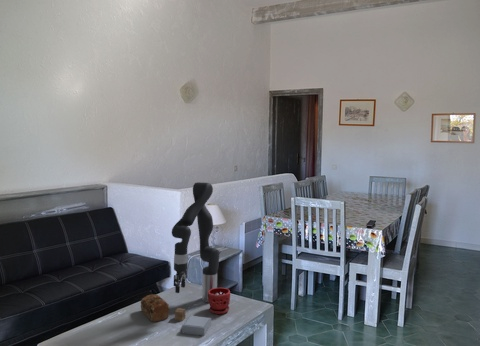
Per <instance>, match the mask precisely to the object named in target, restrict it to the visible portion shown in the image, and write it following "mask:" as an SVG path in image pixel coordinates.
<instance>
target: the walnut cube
mask: <svg viewBox="0 0 480 346" xmlns="http://www.w3.org/2000/svg"><path fill="white" fill-rule="evenodd" d="M185 319H186V308H180V307H177V309H175V311H174V320H175V321H178V322H179V321H180V322H183V321H184V320H185Z"/></svg>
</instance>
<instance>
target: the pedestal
mask: <svg viewBox="0 0 480 346" xmlns="http://www.w3.org/2000/svg"><path fill="white" fill-rule="evenodd" d="M211 326H212V317H205V316H196V315H189V316H188V317H187V318H186V320H185V321H184V322H183V324H182V325H181V328H182V330H181V333H182V334H187V335H188V334H189V335H196V336H203V337H204V336H206V334H207V332H208V331H209V329H210V328H211Z"/></svg>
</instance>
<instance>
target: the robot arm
mask: <svg viewBox="0 0 480 346" xmlns="http://www.w3.org/2000/svg"><path fill="white" fill-rule="evenodd" d="M213 190H214V187H213V185H212V184H211V183H210V182H201V181H200V182H195V183H194V184H193V186H192V195H193V199H194V202H193V203H192V204H191V205H189V207H187V208H186V210H185V211H184V213H183V214H182V217H181V218H180V219H179V220H178V221H177V222H176V223H174V225H173V227H172V229H171V236H172V237H174V238H175V239H181V241H179V242H175V244H174V255H173V270H174V271H175V273H176V274H175V275H173V287H175V288H174V289H175V290H174V291H175V293H176V294H179V293H180V290H181V289H180V288H186V281H187V279H188V267H189V264H188V263H189V262H188V261H189V260H188V247H189V246H188V245H189V242H190V239H191V236H192V235H191V234H192V229H191V228H190V227H191V226H192V225H193V224H194V222H195V220H197V227H198V234H199V235H198V236H199V256H200V259H201V261H202V262H206V263H208V266H205V267H202V290H201V291H202V293H201V300H202V301H203V302H205V303H209V301H208V291H209V290H211V289H213V288H218V270H219V266H220V265H219V263H220V251H219V249H218V248H215V247H210V241H209V240H210V236H211V234H212V232H213V229H214V222H213V216H212V214H211V212H210V211H209V209H208V208H207V207H206V203H207V202H208V200H210V198H211V196H212V194H213ZM215 295H218V293H216V294H215Z"/></svg>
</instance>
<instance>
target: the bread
mask: <svg viewBox="0 0 480 346" xmlns="http://www.w3.org/2000/svg"><path fill="white" fill-rule="evenodd" d="M169 306H170V305H169V303H168V302H167V301H166V300H165V299H163V298H162V297H160V295H158V294H149V295H148V294H147V295H145V296H144V297H143V298H141V300H140V309H141V312H142V313H143V315H144V316H146V317H147V318H148V319H149V320H150V321H151V322H153V323H154V322H155V323H156V322H159V321H163V320H167V319H168V318H169V315H170V307H169Z"/></svg>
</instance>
